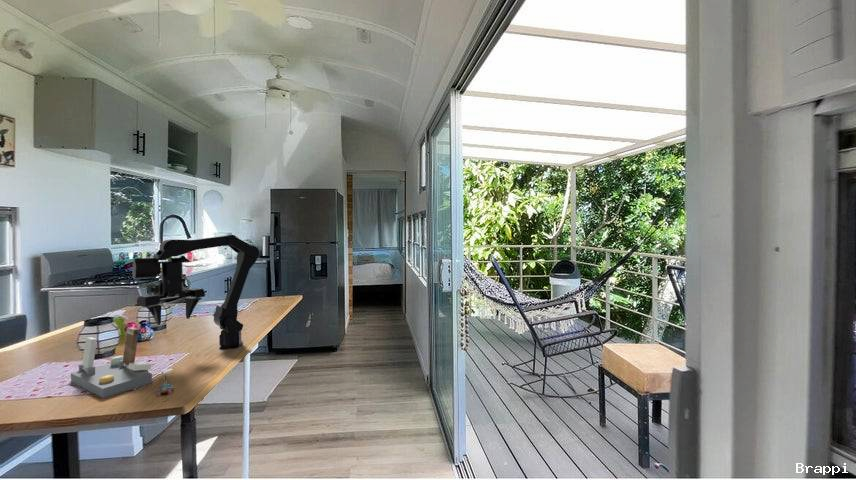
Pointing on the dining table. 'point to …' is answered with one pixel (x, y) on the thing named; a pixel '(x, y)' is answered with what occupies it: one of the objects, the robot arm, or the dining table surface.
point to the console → (110, 378)
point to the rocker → (139, 366)
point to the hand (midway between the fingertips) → (173, 321)
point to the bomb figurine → (165, 388)
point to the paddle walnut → (130, 345)
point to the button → (116, 360)
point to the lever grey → (89, 352)
